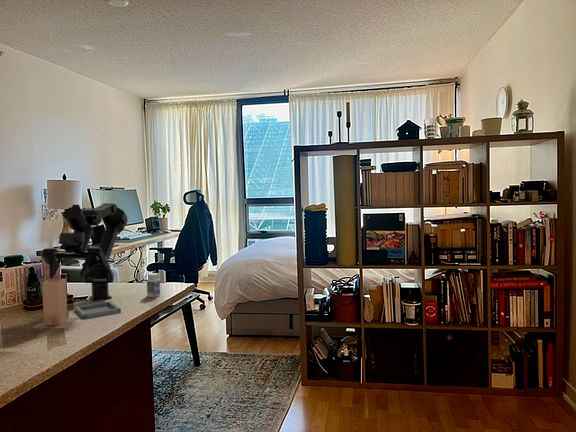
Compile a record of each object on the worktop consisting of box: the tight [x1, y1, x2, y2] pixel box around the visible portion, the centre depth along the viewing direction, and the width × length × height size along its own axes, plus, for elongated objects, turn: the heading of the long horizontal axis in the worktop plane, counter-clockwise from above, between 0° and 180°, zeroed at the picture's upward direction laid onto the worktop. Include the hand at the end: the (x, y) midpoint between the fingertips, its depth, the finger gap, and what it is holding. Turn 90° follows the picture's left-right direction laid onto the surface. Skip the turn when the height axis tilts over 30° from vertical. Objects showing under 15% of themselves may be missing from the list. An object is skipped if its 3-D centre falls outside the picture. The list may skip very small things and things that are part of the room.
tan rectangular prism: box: [41, 278, 68, 325], centre depth 127 cm, size 6×5×13 cm
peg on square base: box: [29, 317, 80, 330], centre depth 129 cm, size 10×10×4 cm
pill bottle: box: [146, 272, 161, 298], centre depth 164 cm, size 5×5×8 cm
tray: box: [75, 301, 122, 320], centre depth 141 cm, size 12×11×2 cm
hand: (65, 277), depth 135 cm, fingers open, 9 cm apart
